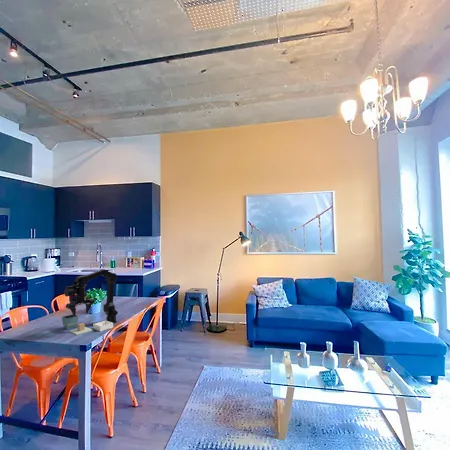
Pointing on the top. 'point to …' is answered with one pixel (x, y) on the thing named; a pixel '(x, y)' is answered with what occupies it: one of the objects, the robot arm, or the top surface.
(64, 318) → the flower pot
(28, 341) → the top surface
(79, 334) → the mat
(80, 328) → the lid
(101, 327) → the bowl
